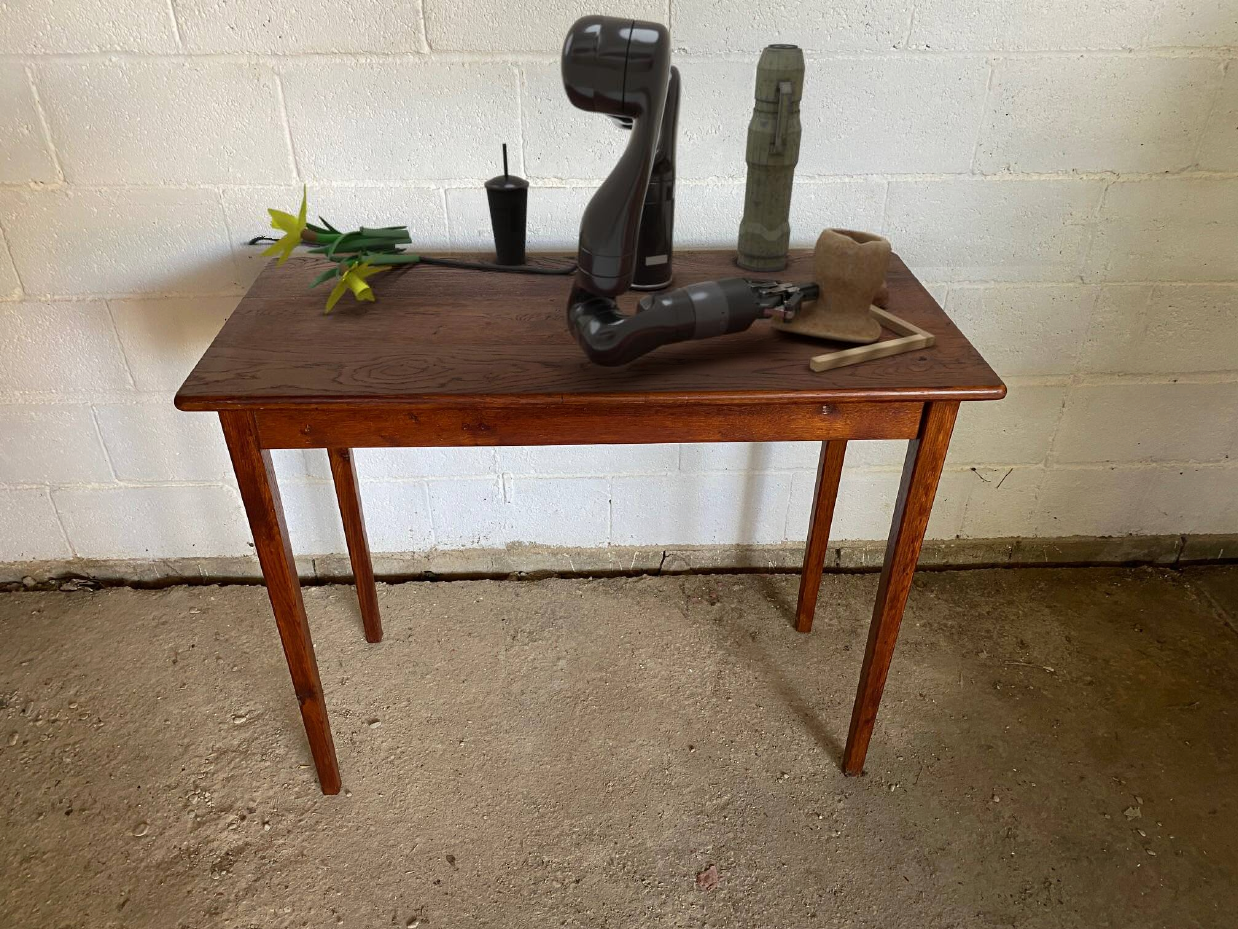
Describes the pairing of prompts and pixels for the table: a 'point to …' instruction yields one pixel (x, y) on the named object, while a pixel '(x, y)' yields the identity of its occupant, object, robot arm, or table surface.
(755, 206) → the thermos
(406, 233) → the daffodil flowers
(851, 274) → the stone cup
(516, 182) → the drinking cup
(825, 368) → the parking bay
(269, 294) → the table surface
